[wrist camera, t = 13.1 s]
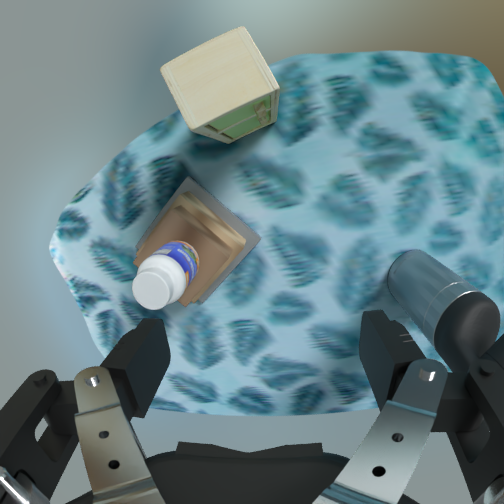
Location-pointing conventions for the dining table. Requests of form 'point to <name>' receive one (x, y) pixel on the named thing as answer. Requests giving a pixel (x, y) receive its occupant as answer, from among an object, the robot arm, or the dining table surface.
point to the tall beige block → (224, 87)
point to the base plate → (220, 211)
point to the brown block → (195, 241)
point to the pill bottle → (165, 275)
